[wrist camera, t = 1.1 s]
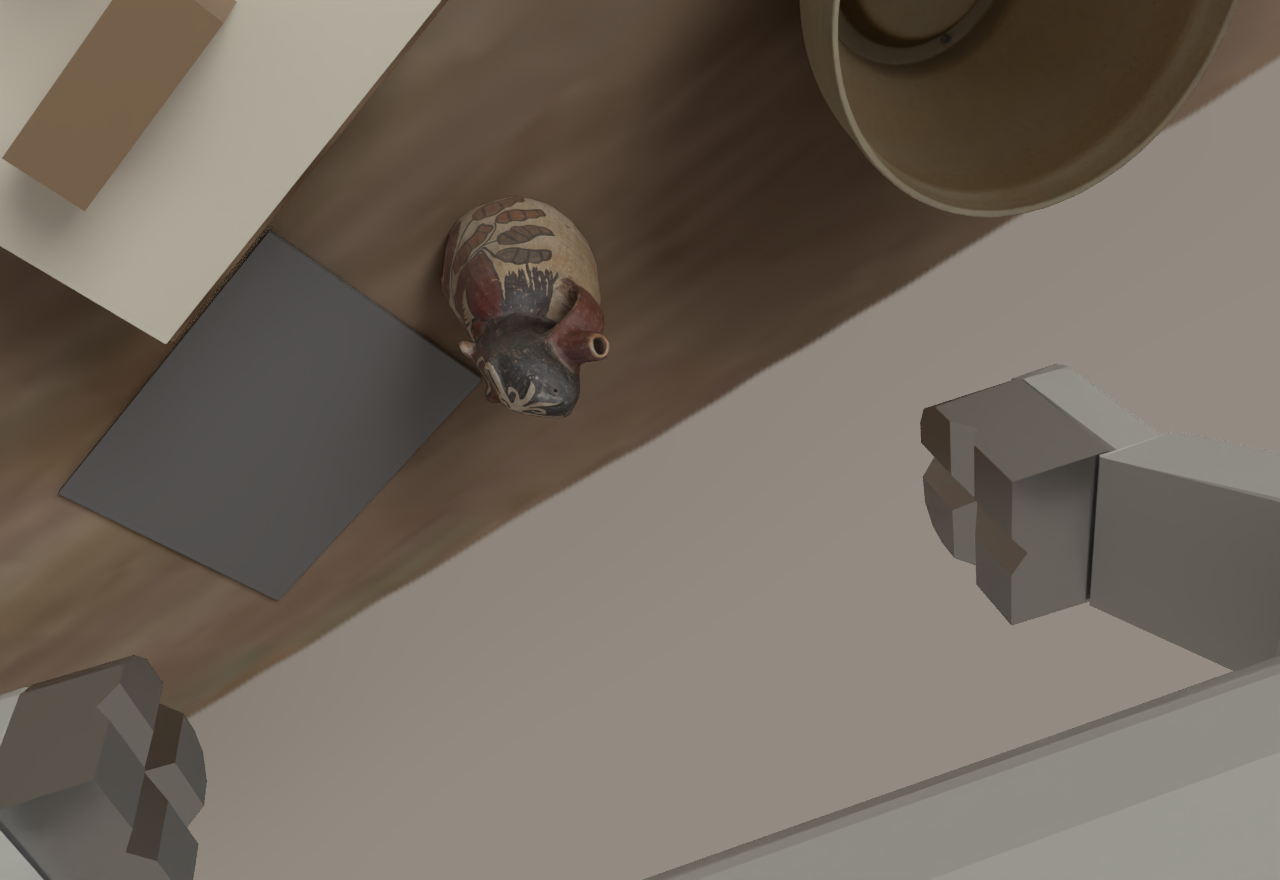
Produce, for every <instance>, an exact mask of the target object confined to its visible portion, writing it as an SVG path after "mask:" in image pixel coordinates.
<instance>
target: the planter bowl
mask: <svg viewBox="0 0 1280 880" xmlns="http://www.w3.org/2000/svg"><path fill="white" fill-rule="evenodd" d="M1238 1H1239V0H800V16H801V25H802V32H803V38H804V44H805V48H806V51H807V55H808V59H809V63H810V66H811V69H812V72H813V74H814V77H815V80H816V82H817V84H818V87H819V89H820V91H821V93H822V95H823V97H824V99H825V100H826V102H827V104H828V106H829V108H830V109H831V111H832V112H833V114H834V116H835V117H836V119H837V120H838V122H839V123H840V124H841V126H842V127H843V128H844V130H845V131H846V132H847V133H848V135H849V136H850V137H851V138H852V139H853V140H854V142H855V143H856V144H857V146H858V147H859V149H860V150H861V151H862V153H863V154H864V155H865V156H866V158H867V159H868V160H869V161H870V162H871V164H872V165H873V166H874V167H875V168H876V169H877V170H878V171H879V172H880V173H881V174H882V175H883V176H884V177H885V178H887V179H888V180H889V181H890V182H891V183H893V184H894V185H895V186H896V187H898V188H899V189H900V190H902V191H903V192H904V193H906V194H908V195H909V196H911V197H912V198H914V199H916V200H918V201H919V202H922V203H924V204H926V205H928V206H931V207H933V208H936V209H939V210H942V211H945V212H948V213H953V214H958V215H963V216H971V217H1003V216H1011V215H1019V214H1023V213H1027V212H1031V211H1035V210H1038V209H1043V208H1045V207H1049V206H1051V205H1054V204H1057V203H1059V202H1062V201H1064V200H1066V199H1069V198H1071V197H1073V196H1075V195H1078V194H1080V193H1082V192H1083V191H1085V190H1087V189H1089V188H1090V187H1092V186H1094V185H1095V184H1097V183H1099V182H1101V181H1102V180H1104V179H1105V178H1107V177H1108V176H1110V175H1111V174H1113V173H1114V172H1115V171H1117V170H1118V169H1120V168H1121V167H1122V166H1124V165H1125V164H1126V163H1127V162H1129V161H1130V160H1131V159H1132V158H1133V157H1135V156H1136V155H1137V154H1138V153H1139V152H1141V151H1142V150H1143V148H1145V147H1146V146H1147V145H1148V144H1149V143H1150V142H1151V141H1152V140H1153V139H1154V138H1155V137H1156V136H1157V135H1158V134H1159V132H1160V131H1161V130H1162V129H1163V128H1164V127H1165V126H1166V125H1167V124H1168V122H1169V121H1170V120H1171V119H1172V118H1173V117H1174V115H1175V114H1176V113H1177V111H1178V110H1179V109H1180V107H1181V106H1182V105H1183V103H1184V102H1185V101H1186V100H1187V98H1188V97H1189V95H1190V94H1191V92H1192V91H1193V89H1194V88H1195V87H1196V85H1197V84H1198V82H1199V81H1200V79H1201V78H1202V76H1203V75H1204V73H1205V71H1206V69H1207V68H1208V66H1209V64H1210V63H1211V61H1212V59H1213V58H1214V56H1215V54H1216V52H1217V50H1218V48H1219V46H1220V43H1221V41H1222V39H1223V37H1224V35H1225V33H1226V31H1227V29H1228V26H1229V24H1230V22H1231V20H1232V17H1233V15H1234V12H1235V10H1236V7H1237V4H1238Z"/></svg>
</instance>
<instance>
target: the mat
mask: <svg viewBox="0 0 1280 880" xmlns="http://www.w3.org/2000/svg"><path fill="white" fill-rule="evenodd" d="M481 380H482V378H481V376H479V375H478V374H476V373H475V372H473V371H472V370H471V369H469V368H468V367H466V366H465V365H463V364H462V363H461V362H459V361H458V360H456V359H455V358H453V357H452V356H450V355H449V354H448V353H446V352H445V351H443V350H442V349H440V348H439V347H437V346H436V345H435V344H433V343H432V342H430V341H429V340H427V339H426V338H425V337H423V336H422V335H420V334H419V333H417V332H416V331H414V330H413V329H412V328H410V327H409V326H407V325H406V324H404V323H403V322H402V321H400V320H399V319H397V318H396V317H394V316H393V315H391V314H390V313H389V312H387V311H386V310H384V309H383V308H381V307H380V306H378V305H377V304H376V303H374V302H373V301H371V300H370V299H368V298H367V297H366V296H364V295H363V294H361V293H360V292H358V291H357V290H355V289H354V288H353V287H351V286H350V285H348V284H347V283H345V282H344V281H343V280H341V279H340V278H338V277H337V276H335V275H334V274H332V273H331V272H330V271H328V270H327V269H325V268H324V267H322V266H321V265H319V264H318V263H317V262H315V261H314V260H312V259H311V258H309V257H308V256H307V255H305V254H304V253H302V252H301V251H299V250H298V249H296V248H295V247H294V246H292V245H291V244H289V243H288V242H286V241H285V240H284V239H282V238H281V237H279V236H278V235H276V234H275V233H273V232H272V231H271V230H269V231H268V232H267V233H266V234H265V235H264V237H263V238H262V239H261V240H260V242H259V243H258V244H257V245H256V247H255V248H254V249H253V250H252V252H251V253H250V254H249V255H248V257H247V258H246V259H245V260H244V262H243V263H242V264H241V265H240V267H239V268H238V269H237V270H236V272H235V273H234V274H233V275H232V277H231V278H230V279H229V280H228V281H227V283H226V284H225V285H224V286H223V288H222V289H221V290H220V291H219V293H218V294H217V295H216V296H215V298H214V299H213V300H212V301H211V303H210V304H209V305H208V306H207V308H206V309H205V310H204V311H203V313H202V314H201V315H200V316H199V318H198V319H197V320H196V321H195V323H194V324H193V325H192V326H191V327H190V329H189V330H188V331H187V332H186V334H185V335H184V336H183V337H182V339H181V340H180V341H179V342H178V344H177V345H176V346H175V347H174V349H173V350H172V351H171V352H170V354H169V355H168V356H167V357H166V359H165V360H164V361H163V362H162V364H161V365H160V366H159V367H158V368H157V370H156V371H155V372H154V373H153V375H152V376H151V377H150V378H149V380H148V381H147V382H146V383H145V385H144V386H143V387H142V388H141V390H140V391H139V392H138V393H137V395H136V396H135V397H134V398H133V400H132V401H131V402H130V403H129V405H128V406H127V407H126V408H125V410H124V411H123V412H122V413H121V414H120V416H119V417H118V418H117V419H116V421H115V422H114V423H113V424H112V426H111V427H110V428H109V429H108V431H107V432H106V433H105V434H104V436H103V437H102V438H101V439H100V441H99V442H98V443H97V444H96V446H95V447H94V448H93V449H92V451H91V452H90V453H89V454H88V456H87V457H86V458H85V459H84V460H83V462H82V463H81V464H80V465H79V467H78V468H77V469H76V470H75V472H74V473H73V474H72V475H71V477H70V478H69V479H68V480H67V482H66V483H65V484H64V485H63V487H62V488H61V489H60V490H59V493H58V494H59V495H61V496H63V497H66V498H68V499H70V500H72V501H74V502H76V503H78V504H80V505H82V506H84V507H86V508H88V509H90V510H92V511H94V512H96V513H98V514H100V515H103V516H105V517H107V518H109V519H111V520H113V521H115V522H117V523H119V524H121V525H123V526H125V527H127V528H129V529H131V530H133V531H135V532H137V533H140V534H142V535H144V536H146V537H148V538H150V539H152V540H154V541H156V542H158V543H160V544H162V545H164V546H166V547H168V548H170V549H172V550H174V551H177V552H179V553H181V554H183V555H185V556H187V557H189V558H191V559H193V560H195V561H197V562H199V563H201V564H203V565H205V566H207V567H209V568H211V569H214V570H216V571H218V572H220V573H222V574H224V575H226V576H228V577H230V578H232V579H234V580H236V581H238V582H240V583H242V584H244V585H246V586H248V587H251V588H253V589H255V590H257V591H259V592H261V593H263V594H265V595H267V596H269V597H271V598H273V599H275V600H277V601H278V600H279V599H280V598H281V597H282V596H283V595H284V594H285V593H286V592H287V591H288V589H289V588H290V587H291V586H292V585H293V584H294V583H295V582H296V581H297V580H298V579H299V578H300V576H301V575H302V574H303V573H304V572H305V571H306V570H307V569H308V568H309V567H310V566H311V565H312V563H313V562H314V561H315V560H316V559H317V558H318V557H319V556H320V555H321V554H322V553H323V552H324V550H325V549H326V548H327V547H328V546H329V545H330V544H331V543H332V542H333V541H334V540H335V539H336V537H337V536H338V535H339V534H340V533H341V532H342V531H343V530H344V529H345V528H346V527H347V525H348V524H349V523H350V522H351V521H352V520H353V519H354V518H355V517H356V516H357V515H358V514H359V512H360V511H361V510H362V509H363V508H364V507H365V506H366V505H367V504H368V503H369V502H370V501H371V499H372V498H373V497H374V496H375V495H376V494H377V493H378V492H379V491H380V490H381V489H382V488H383V486H384V485H385V484H386V483H387V482H388V481H389V480H390V479H391V478H392V477H393V476H394V475H395V473H396V472H397V471H398V470H399V469H400V468H401V467H402V466H403V465H404V464H405V463H406V462H407V460H408V459H409V458H410V457H411V456H412V455H413V454H414V453H415V452H416V451H417V450H418V449H419V447H420V446H421V445H422V444H423V443H424V442H425V441H426V440H427V439H428V438H429V437H430V436H431V434H432V433H433V432H434V431H435V430H436V429H437V428H438V427H439V426H440V425H441V424H442V423H443V421H444V420H445V419H446V418H447V417H448V416H449V415H450V414H451V413H452V412H453V411H454V409H455V408H456V407H457V406H458V405H459V404H460V403H461V402H462V401H463V400H464V399H465V398H466V396H467V395H468V394H469V393H470V392H471V391H472V390H473V389H474V388H475V387H476V386H477V385H478V383H479V382H480V381H481Z"/></svg>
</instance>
